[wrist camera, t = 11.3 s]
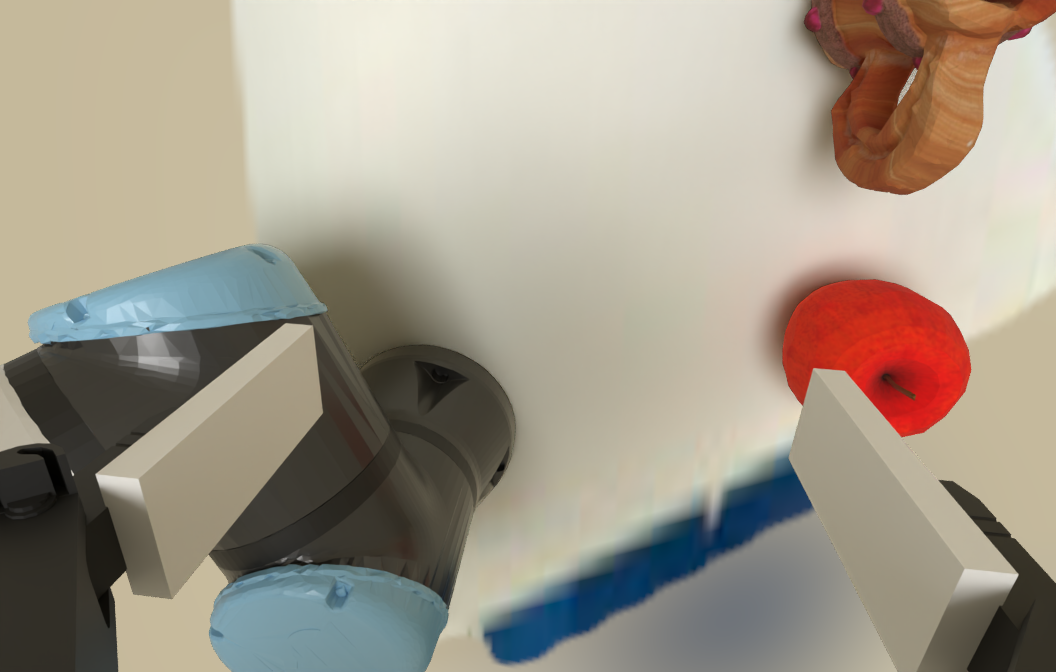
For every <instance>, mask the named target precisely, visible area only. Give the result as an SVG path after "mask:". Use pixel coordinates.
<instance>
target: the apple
mask: <svg viewBox="0 0 1056 672" xmlns="http://www.w3.org/2000/svg"><path fill="white" fill-rule="evenodd" d="M783 366H784V370H785V373H786V377H787V381H788V385H789V387H790V389H791V390H792V392H793V393H794V395H795V396H796V398H797V400H798V401H799V402H800V403H801V404H802V405H803V404H804V400H805V397H806V393H807V390H808V386H809V382H810V379H811V375H812V371H813V368H817V369H828V370H840V371H845V372H846V373H847V374H848V375H849V377H850V378H851V379H852V380H853V381H854V382H855V384H856V385H857V386H858V387H859V388H860V389H861V391H862V392H863V393H864V394H865V395H866V396H867V398H868V399H869V400H870V401H871V402H872V403H873V405H874V406H875V407H876V408H877V409H878V410H879V412H880V413H881V414H882V415H883V416H884V417H885V419H886V420H887V421H888V422H889V423H890V424H891V426H892V427H893V428H894V429H895V430H896V432H897V433H898V434H899V435H900V436H901V437H905V436H910V435H915V434H920V433H924V432H925V431H926V430H927V429H929V428H930V427H932V426H933V425H934V424H936V423H937V422H938V421H940V420H941V419H943V418H944V417H945V416H946V415H947V414H948V412H949V411H950V410H951V409H952V407H953V406H954V405H955V404H956V402H957V401H958V400H959V399H960V397H961V396H962V395H963V393H964V392H965V391H966V386H967V383H968V380H969V376H970V373H971V363H970V356H969V350H968V347H967V345H966V343H965V340H964V338H963V336H962V334H961V331H960V330H959V328H958V326H957V325H956V323H955V321H954V320H953V318H952V316H951V315H950V314H949V313H948V312H947V311H946V310H945V309H944V308H942V307H941V306H939V305H937V304H935V303H934V302H932V301H930V300H928V299H926V298H925V297H923V296H921V295H919V294H918V293H916V292H914V291H912V290H910V289H908V288H906V287H904V286H901V285H898V284H895V283H890V282H885V281H881V280H876V279H873V280H847V281H841V282H836V283H832V284H829V285H826V286H823V287H821V288H819V289H817V290H815V291H813V292H812V293H811V294H810V295H809V296H807V297H806V298H805V299H804V300H803V301H801V302H800V303H799V304H798V305H797V307H796V308H795V310H794V312H793V314H792V316H791V318H790V320H789V323H788V326H787V328H786V331H785V336H784V343H783Z"/></svg>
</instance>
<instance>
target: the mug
mask: <svg viewBox="0 0 1056 672" xmlns="http://www.w3.org/2000/svg"><path fill="white" fill-rule="evenodd" d="M1055 12H1056V0H812V9H811V10H810V11H809V12H808V13H807V15H806V16H805V19H804V24H805V26H806V28H807V29H809V30H810V31H812V32H815V34H816V37H817V40H818V42H819V44H820V46H821V47H822V49H823V51H824V53H825V54H826V56H827V57H828V59H829V60H830V62H831V63H833V64H834V65H836V66H838V67H840V68H844V69H848V70H850V72H849V73H850V75H851V76H852V78H853V81H852V82H851V84H850V85H849V86H848V88H847V89H846V90H845V91H844V93H843V94H842V95H841V96H840V98H839V99H838V100H837V102H836V103H835V105H834V107H833V108H832V110H831V114H832V122H833V140H834V149H835V160H836V162H837V165H838V167H839V168H840V170H841V171H842V173H843V175H844V176H845V177H846V178H847V179H848V180H849V181H851V182H853V183H855V184H856V185H857V186H858V187H861V188H865V189H869V190H874V191H881V192H890V193H893V194H899V195H908V194H911V193H913V192H916V191H919V190H922V189H924V188H926V187H928V186H929V185H931V184H932V183H934V182H935V181H937V180H939V179H940V178H942V177H943V176H944V175H946V174H947V173H948V172H950V171H951V170H952V169H954V168H955V167H956V166H958V165H959V164H960V162H961V161H962V160H963V159H964V158H965V156H966V155H967V154H968V153H969V151H970V150H971V149H972V148H973V147H974V145H975V143H976V140H977V138H978V135H979V133H980V131H981V128H982V124H983V87H984V83H985V80H986V76H987V73H988V70H989V67H990V64H991V61H992V59H993V56H994V54H995V51H996V48H997V46H998V45H999V44H1001V43H1002V42H1004V41H1005V40H1013V39H1018V38H1023V37H1025V36H1026V35H1027V34H1029V33H1030V31H1031V29H1032V27H1033V26H1035V25H1037V24H1039V23H1041V22H1043V21H1044V20H1046V19H1047V18H1048V17H1050V16H1051V15H1052V14H1054V13H1055ZM914 68H916V69H917V70H918V71H917V73H916V76H915V79H914V81H913V83H912V84H911V86H910V88H909V90H908V91H907V93H906V94H905V96H904V97H903V99H902V100H901V102H900V103H899V105H898V106H897V104H898V98H899V95H900V93H901V90H902V89H903V87H904V86H905V84H906V82H907V80H908V78H909V76H910V75H911V73H912V71H913V69H914Z"/></svg>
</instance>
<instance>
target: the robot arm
mask: <svg viewBox="0 0 1056 672" xmlns="http://www.w3.org/2000/svg"><path fill="white" fill-rule="evenodd" d="M326 311H328V309H327V307H326V305H325V304H324V303H322V302H319V300H318V299H317V297H316V296H315V294H314V293H313V291H312V290H311V288H310V287H309V285H308V284H307V282H306V281H305V279H304V278H303V276H302V275H301V273H300V272H299V270H298V269H297V267H296V266H295V264H294V263H293V261H292V260H291V259H290V258H289V257H288V256H287V255H286V254H285V253H284V252H282V251H281V250H279V249H277V248H275V247H273V246H270V245H265V244H248V245H244V246H240V247H236V248H232V249H228V250H225V251H221V252H218V253H215V254H211V255H208V256H204V257H201V258H198V259H195V260H191V261H188V262H185V263H182V264H178V265H175V266H172V267H169V268H166V269H162V270H159V271H156V272H153V273H149V274H147V275H143V276H140V277H137V278H134V279H131V280H128V281H125V282H122V283H119V284H115V285H112V286H109V287H106V288H104V289H101V290H98V291H95V292H92V293H91V294H87V295H83V296H80V297H78V298H75V299H72V300H69V301H66V302H64V303H59V304H55V305H52V306H49V307H47V308H44V309H41V310H39V311H37V312H34V313H33V314H32V315H30V318H29V320H28V325H29V329H30V333H29V337H30V338H31V339H32V340H33V342H34V343H38V342H40V343H42V344H43V345H42V346H40V347H38V348H37V349H35V350H33V351H31V352H29V353H27V354H25V355H22V356H20V357H18V358H16V359H14V360H12V361H10V362H8V363H6V364H3V365H1V366H0V672H118V658H117V638H116V618H115V601H114V598H113V594H112V592H111V589H110V587H111V586H112V585H113V583H114V582H115V581H116V580H117V579H118V578H119V577H120V576H121V575H122V574H123V573H124V572H125V571H126V573H127V576H128V579H129V582H130V585H131V589H132V592H133V594H135V595H143V596H151V597H159V598H167V599H173V597H174V596H175V595H176V594H177V592H178V591H179V590H180V589H181V587H182V586H183V585H184V584H185V583H186V581H187V580H188V579H189V578H190V576H191V575H192V574H193V573H194V571H195V570H196V569H197V568H198V566H199V565H200V564H201V563H202V561H203V560H204V559H205V558H206V557H207V555H208V554H209V555H210V557H211V558H212V559H213V561H214V562H215V563H216V565H217V566H218V567H219V569H220V570H221V571H222V573H223V574H224V575H225V576H226V578H227V580H228V583H229V584H228V585H227V586H226V587H225V588H224V589H223V590H222V591H221V592H220V593H219V595H218V596H217V598H216V599H215V602H214V610H213V612H212V614H211V618H210V623H211V627H210V630H209V636H210V641H211V644H212V646H213V649H214V650H215V652H216V654H217V655H218V657H219V658H220V660H221V661H222V662H223V663H224V664H225V665H226V666H227V667H228V668H229V669H230V670H231V671H232V672H425V671H426V669H427V667H428V665H429V663H430V661H431V658H432V655H433V652H434V649H435V647H436V644H437V641H438V638H439V635H440V633H441V632H442V630H443V629H444V628H445V627H446V624H447V621H448V609H449V605H450V601H451V598H452V594H453V590H454V586H455V582H456V578H457V574H458V571H459V567H460V563H461V559H462V555H463V551H464V547H465V544H466V540H467V536H468V532H469V528H470V525H471V521H472V517H473V513H474V510H475V509H476V507H477V506H478V505H479V504H480V503H481V502H482V501H483V499H484V498H485V497H486V496H487V495H488V494H489V493H490V492H491V490H492V489H493V488H494V487H495V486H496V485H497V483H498V482H499V481H500V479H501V478H502V476H503V475H504V473H505V471H506V469H507V467H508V464H509V462H510V458H511V454H512V450H513V445H514V440H515V419H514V414H513V410H512V407H511V405H510V402H509V400H508V398H507V396H506V394H505V392H504V391H503V389H502V388H501V386H500V385H499V384H498V382H497V381H496V380H495V379H494V378H493V377H492V376H491V375H490V374H489V373H488V372H487V371H486V370H485V369H484V368H482V367H481V366H480V365H478V364H477V363H475V362H474V361H472V360H470V359H469V358H467V357H465V356H463V355H461V354H458V353H456V352H453V351H450V350H447V349H444V348H440V347H434V346H426V345H412V346H403V347H398V348H394V349H391V350H388V351H386V352H383V353H381V354H379V355H377V356H376V357H374V358H372V359H371V360H370V361H368V362H367V363H366V364H365V365H364V366H363V367H362V368H361V369H360V370H359V368H358V367H357V365H356V363H355V362H354V360H353V358H352V356H351V355H350V353H349V351H348V350H347V348H346V346H345V344H344V343H343V341H342V339H341V338H340V336H339V334H338V333H337V331H336V329H335V327H334V326H333V324H332V322H331V321H330V319H329V317H328V315H327V314H326ZM789 460H790V462H791V464H792V466H793V468H794V470H795V472H796V474H797V476H798V478H799V480H800V482H801V483H802V485H803V487H804V489H805V491H806V493H807V495H808V497H809V499H810V501H811V503H812V505H813V507H814V509H815V511H816V513H817V515H818V517H819V519H820V520H821V523H822V525H823V527H824V528H825V530H826V532H827V534H828V536H829V538H830V540H831V542H832V544H833V546H834V548H835V550H836V552H837V554H838V556H839V558H840V560H841V562H842V564H843V566H844V568H845V569H846V572H847V573H848V575H849V577H850V579H851V581H852V583H853V585H854V587H855V589H856V591H857V593H858V595H859V597H860V599H861V601H862V603H863V605H864V607H865V609H866V611H867V613H868V615H869V617H870V618H871V620H872V622H873V624H874V626H875V628H876V630H877V632H878V634H879V636H880V638H881V640H882V642H883V644H884V646H885V648H886V650H887V652H888V654H889V656H890V657H891V659H892V661H893V663H894V665H895V667H896V669H897V671H898V672H1056V583H1055V582H1054V581H1053V580H1052V579H1051V578H1050V577H1049V576H1048V574H1047V573H1046V572H1045V571H1044V570H1043V569H1042V568H1041V567H1040V566H1039V565H1038V563H1037V562H1036V561H1035V560H1034V559H1033V558H1032V557H1031V556H1030V555H1029V554H1028V552H1027V551H1026V550H1025V549H1024V548H1023V547H1022V546H1021V545H1020V544H1019V543H1018V542H1017V540H1016V539H1014V538H1011V534H1010V533H1009V532H1008V531H1007V529H1006V528H1005V527H1004V526H1003V525H1002V524H1001V523H1000V522H997V521H996V517H995V516H994V515H993V514H992V513H991V512H990V511H989V510H988V509H987V508H986V507H985V505H984V504H983V503H982V502H981V501H980V500H979V499H978V498H976V497H975V496H974V495H972V494H971V493H969V492H968V491H966V490H965V489H963V488H962V487H960V486H959V485H957V484H956V483H955V482H953V481H944V480H938V479H937V478H936V477H935V476H934V475H933V474H932V472H930V470H929V469H928V468H927V467H926V465H925V464H923V462H922V461H921V460H920V458H919V457H918V456H917V455H916V454H915V453H914V452H913V450H912V449H911V448H910V447H909V446H908V444H907V443H906V442H905V441H904V440H903V439H902V437H901V436H900V435H899V434H898V433H897V432H896V430H895V429H894V428H893V427H892V426H891V424H890V423H889V422H888V421H887V420H886V419H885V417H884V416H883V415H882V414H881V413H880V412H879V410H878V409H877V408H876V407H875V406H874V405H873V403H872V402H871V401H870V400H869V399H868V398H867V396H866V395H865V394H864V393H863V392H862V391H861V389H860V388H859V387H858V386H857V385H856V384H855V382H854V381H853V380H852V379H851V378H850V377H849V375H848V374H847V373H846V372H845V371H840V370H828V369H817V368H813V371H812V375H811V379H810V382H809V386H808V390H807V393H806V397H805V400H804V404H803V408H802V411H801V415H800V419H799V422H798V426H797V429H796V433H795V437H794V440H793V444H792V448H791V451H790V455H789Z"/></svg>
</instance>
